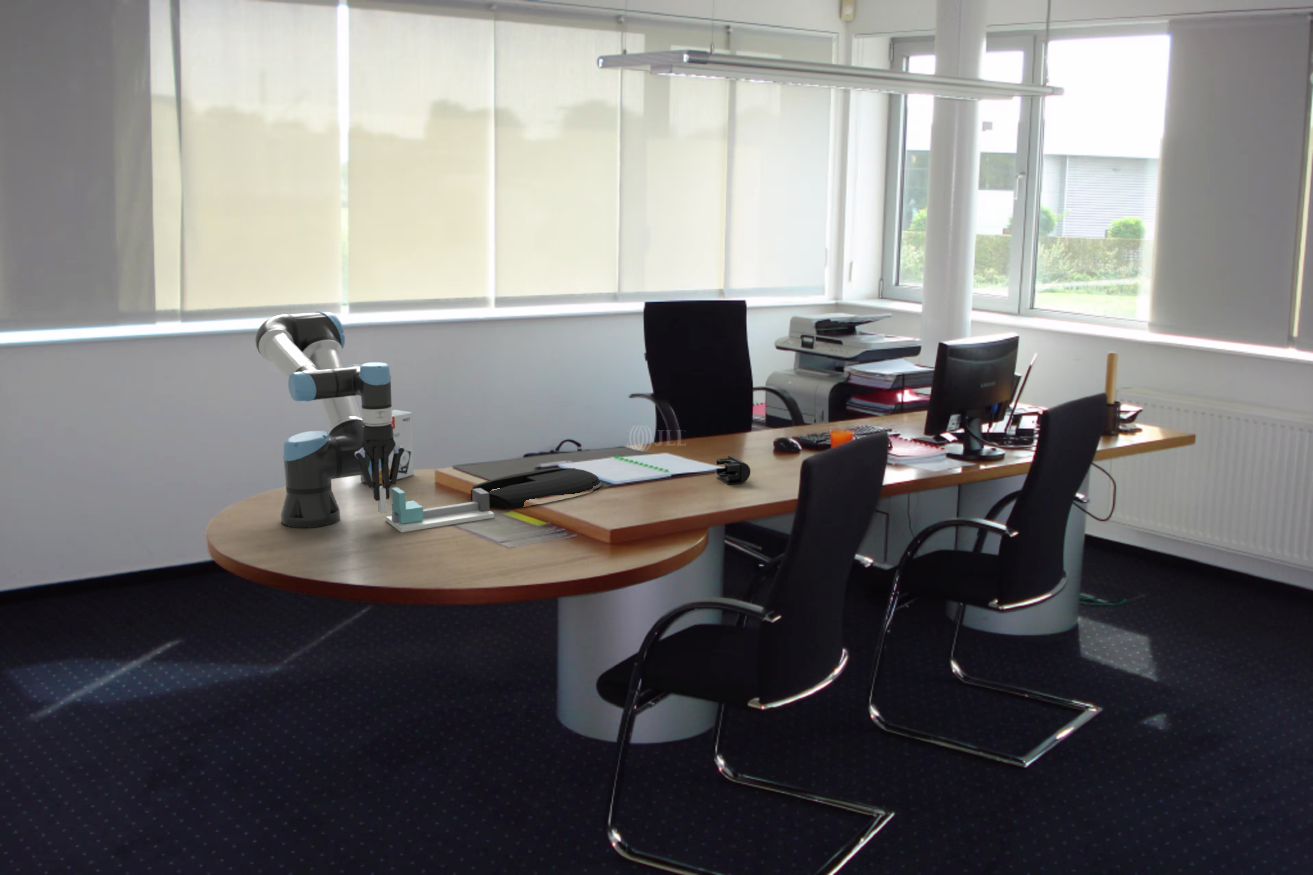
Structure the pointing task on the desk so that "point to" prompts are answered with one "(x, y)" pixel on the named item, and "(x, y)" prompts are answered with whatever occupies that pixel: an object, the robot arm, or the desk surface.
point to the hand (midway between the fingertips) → (382, 511)
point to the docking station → (536, 486)
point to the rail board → (449, 514)
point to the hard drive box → (401, 444)
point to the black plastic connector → (732, 471)
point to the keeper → (405, 507)
